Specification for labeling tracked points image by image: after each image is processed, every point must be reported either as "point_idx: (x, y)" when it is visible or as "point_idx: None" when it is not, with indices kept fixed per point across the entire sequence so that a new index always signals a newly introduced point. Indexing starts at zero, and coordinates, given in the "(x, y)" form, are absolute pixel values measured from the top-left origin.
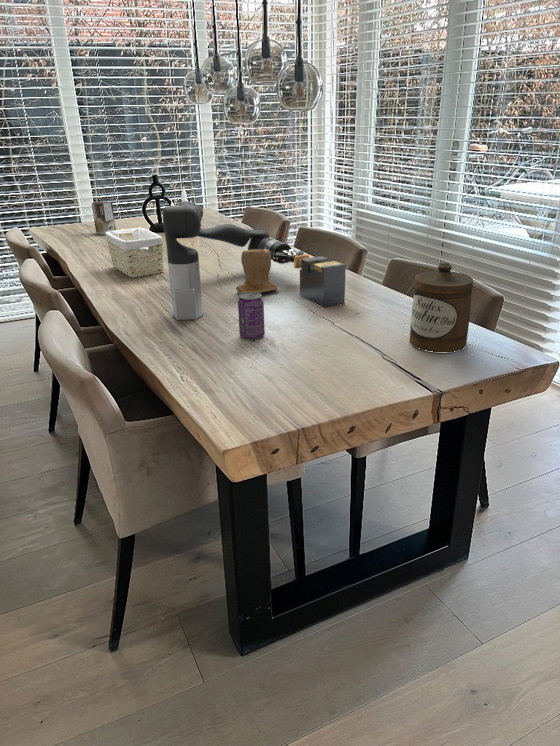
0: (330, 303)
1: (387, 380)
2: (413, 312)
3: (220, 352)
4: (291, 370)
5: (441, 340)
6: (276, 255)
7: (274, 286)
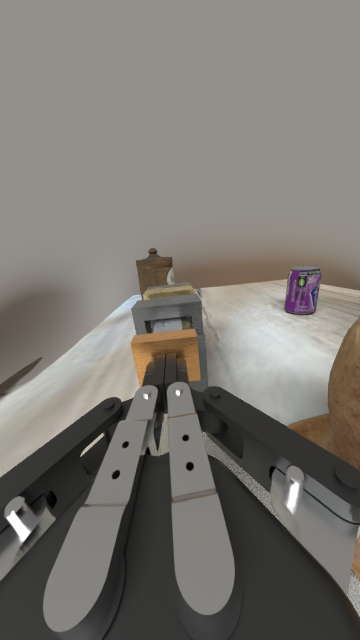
0: None
1: (212, 290)
2: (172, 280)
3: (323, 301)
4: (260, 293)
5: None
6: (311, 443)
7: None
